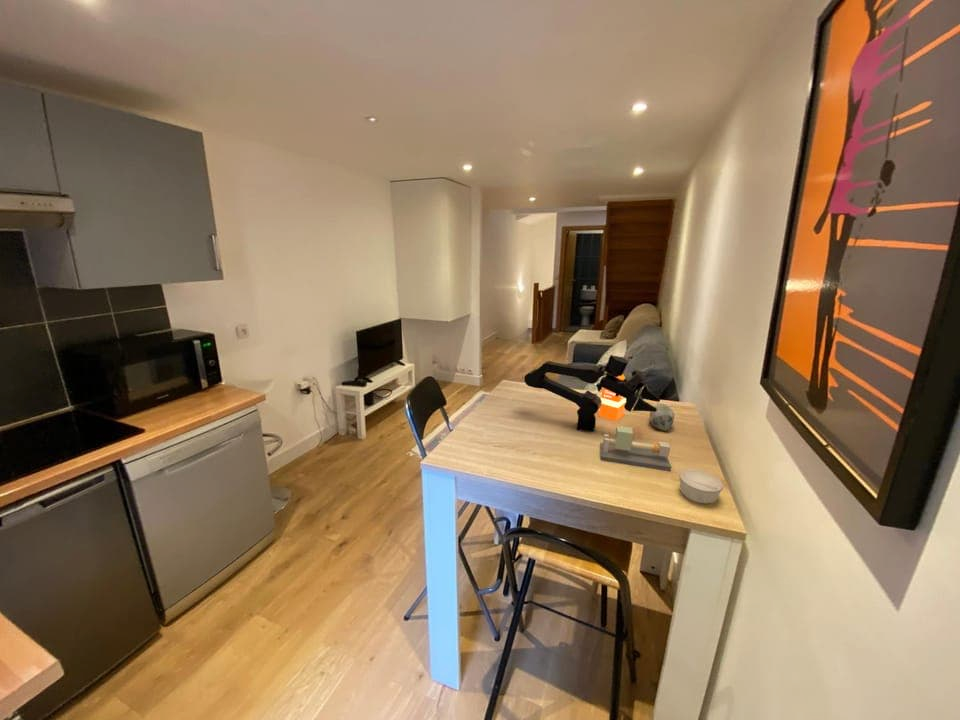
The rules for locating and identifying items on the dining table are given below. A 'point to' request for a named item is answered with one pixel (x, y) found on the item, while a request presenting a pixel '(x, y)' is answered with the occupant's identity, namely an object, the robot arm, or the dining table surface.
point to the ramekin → (700, 486)
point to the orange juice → (612, 404)
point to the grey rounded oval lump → (662, 417)
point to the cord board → (637, 454)
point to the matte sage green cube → (623, 438)
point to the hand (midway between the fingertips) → (658, 405)
